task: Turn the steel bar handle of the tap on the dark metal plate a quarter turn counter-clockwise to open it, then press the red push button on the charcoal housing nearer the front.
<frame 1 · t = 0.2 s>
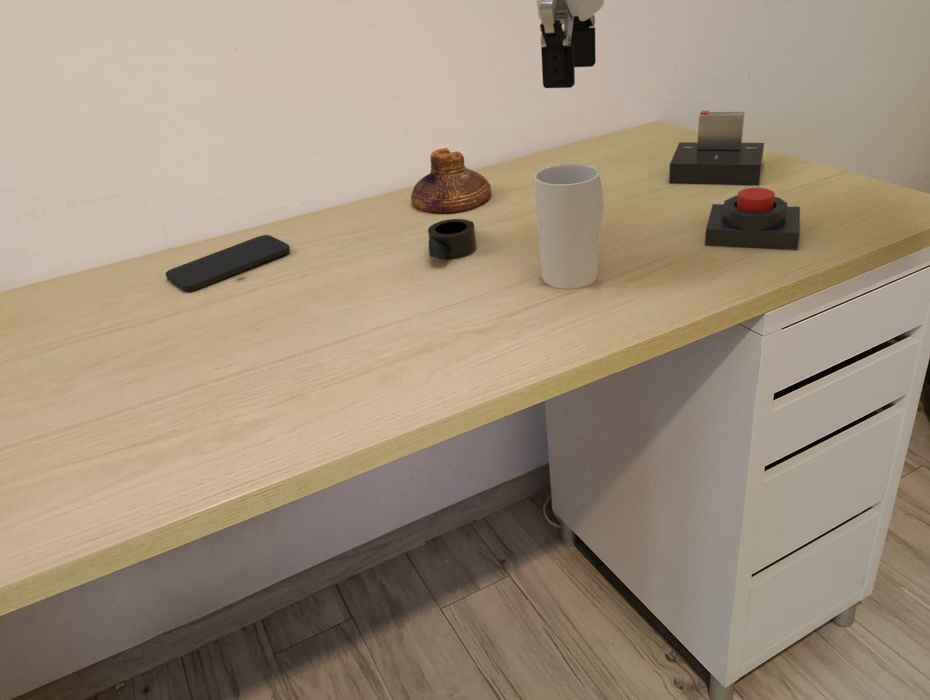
hand: (570, 76, 80), 20 cm above the table, tool pointing down, fingers open, 9 cm apart
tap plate: (716, 173, 108), on the table
button: (755, 200, 86), point 4 cm above the table, slide at 0.1 cm
tap handle: (720, 130, 107), point 6 cm above the table, hinge at 0.0°
bell: (452, 200, 110), on the table
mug: (578, 273, 85), on the table
phone: (230, 265, 97), on the table
button box: (752, 234, 89), on the table
duct tape: (453, 250, 95), on the table
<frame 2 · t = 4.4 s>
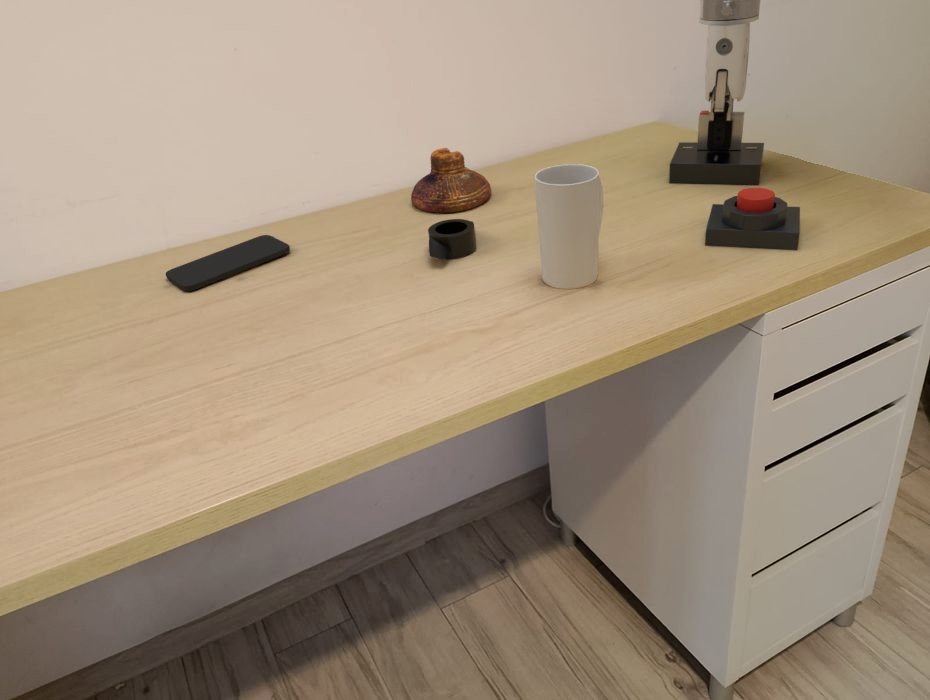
hand: (719, 145, 108), 3 cm above the table, tool pointing down, fingers closed on tap handle
tap handle: (720, 130, 107), point 6 cm above the table, hinge at 0.0°, touching gripper
everything else where it was.
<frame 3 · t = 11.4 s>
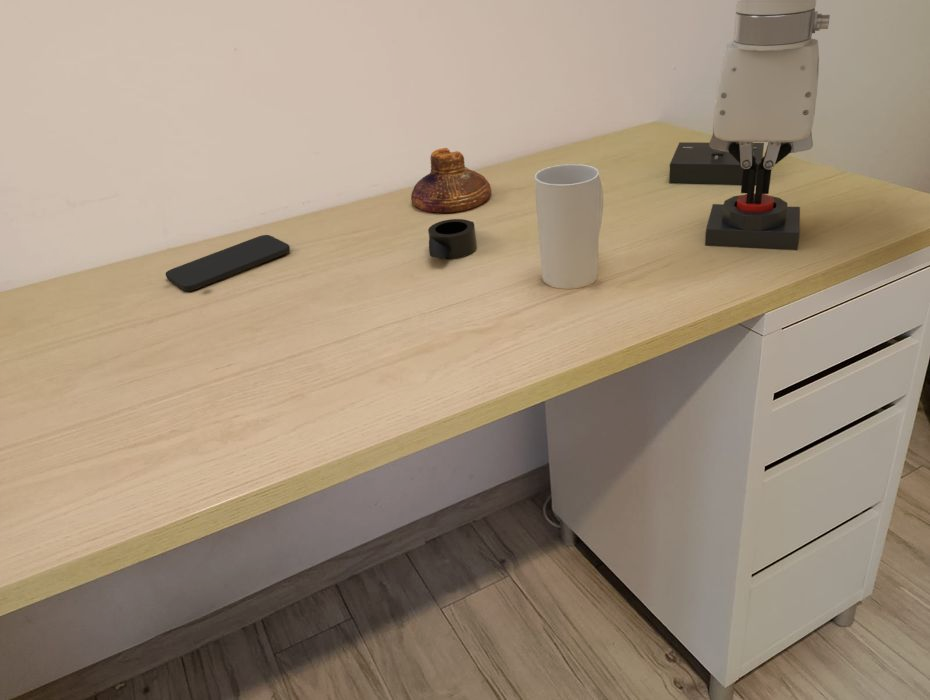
hand: (754, 198, 86), 5 cm above the table, tool pointing down, fingers closed
button: (754, 206, 87), point 4 cm above the table, slide at -0.6 cm, touching gripper
tap handle: (720, 130, 107), point 6 cm above the table, hinge at 89.9°
everything else where it was.
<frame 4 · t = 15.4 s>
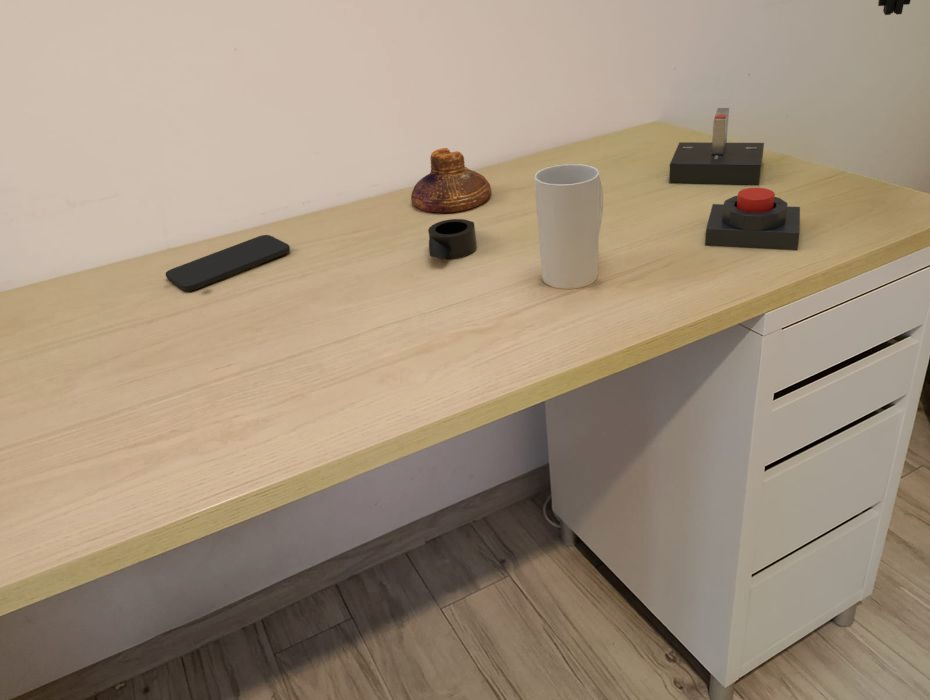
hand: (892, 12, 83), 22 cm above the table, tool pointing down, fingers closed
button: (755, 200, 86), point 4 cm above the table, slide at 0.1 cm
everything else where it was.
at the end: tap handle at +90° (first picture: +0°); button pushed in 1.1 cm at the most during the clip, back to where it started at the end; button slide at 0.1 cm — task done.
